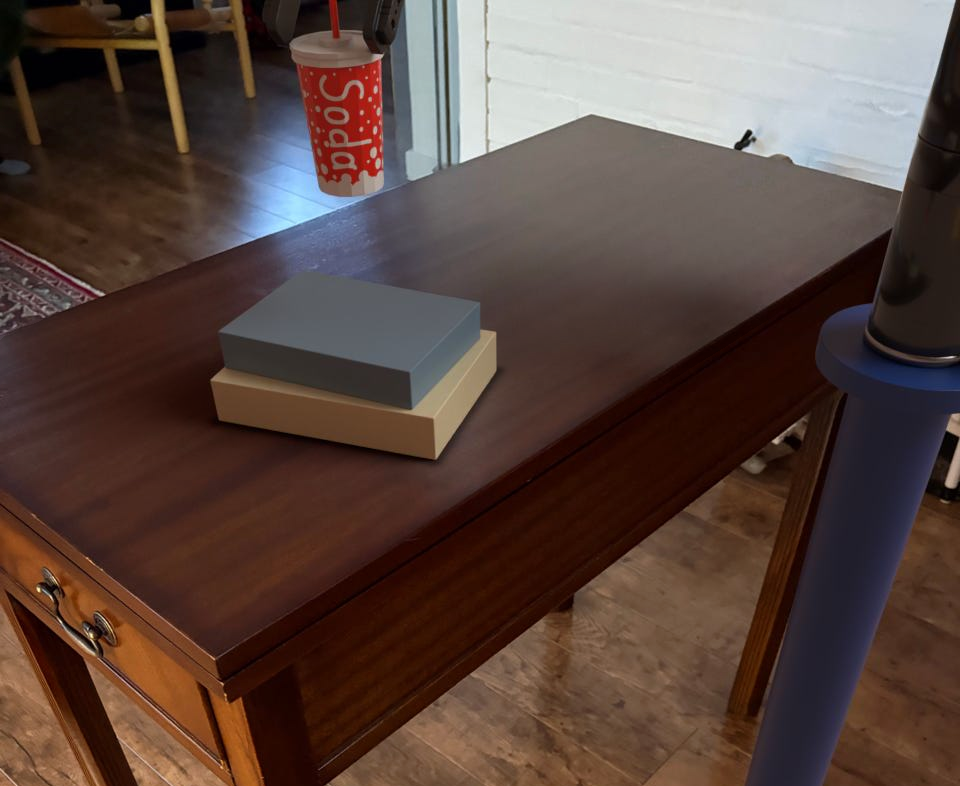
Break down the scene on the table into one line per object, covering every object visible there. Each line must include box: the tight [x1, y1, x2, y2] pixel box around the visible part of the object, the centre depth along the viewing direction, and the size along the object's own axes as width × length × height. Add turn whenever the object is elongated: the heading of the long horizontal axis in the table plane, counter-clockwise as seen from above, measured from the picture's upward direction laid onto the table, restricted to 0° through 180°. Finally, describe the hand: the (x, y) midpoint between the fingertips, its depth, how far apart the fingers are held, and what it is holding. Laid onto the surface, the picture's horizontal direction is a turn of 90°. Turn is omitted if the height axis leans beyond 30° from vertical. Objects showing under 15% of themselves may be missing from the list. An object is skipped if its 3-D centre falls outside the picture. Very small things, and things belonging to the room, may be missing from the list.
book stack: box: [209, 269, 497, 461], centre depth 78 cm, size 18×14×6 cm
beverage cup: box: [289, 0, 386, 198], centre depth 66 cm, size 6×6×14 cm
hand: (324, 42), depth 64 cm, fingers closed on beverage cup, 6 cm apart
